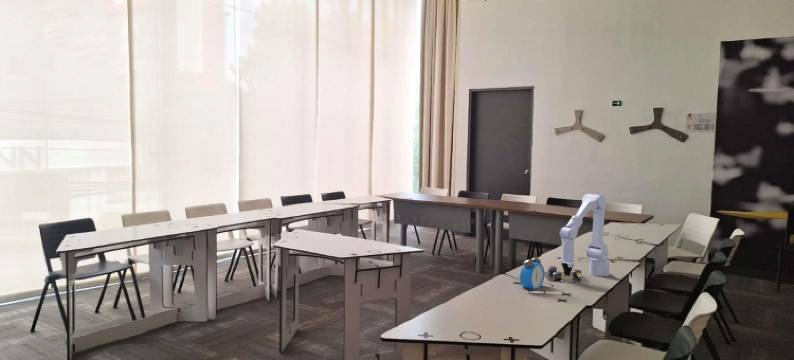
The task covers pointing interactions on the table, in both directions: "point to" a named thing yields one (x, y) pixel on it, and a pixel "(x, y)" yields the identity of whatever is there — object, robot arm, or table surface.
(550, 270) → the knob
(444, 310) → the table surface
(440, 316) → the table surface
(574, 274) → the knob
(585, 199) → the robot arm
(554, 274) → the knob
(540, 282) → the alarm clock
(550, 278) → the dark grey square plate
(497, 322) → the table surface
